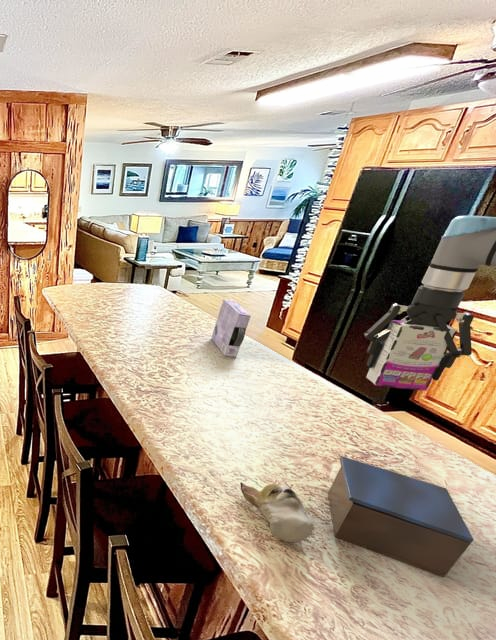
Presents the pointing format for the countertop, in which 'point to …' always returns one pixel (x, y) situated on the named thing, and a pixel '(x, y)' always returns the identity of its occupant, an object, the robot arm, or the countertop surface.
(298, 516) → the ceramic sculpture
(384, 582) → the countertop surface
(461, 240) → the robot arm
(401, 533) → the chest
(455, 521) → the chest lid
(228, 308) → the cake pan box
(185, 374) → the countertop surface
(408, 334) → the candy bar box
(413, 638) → the countertop surface
